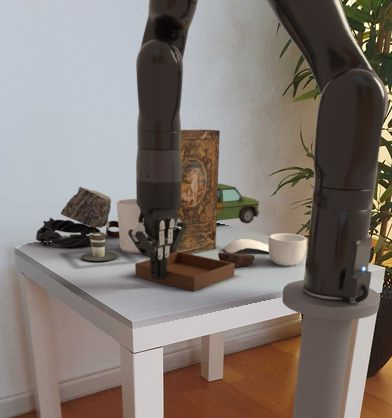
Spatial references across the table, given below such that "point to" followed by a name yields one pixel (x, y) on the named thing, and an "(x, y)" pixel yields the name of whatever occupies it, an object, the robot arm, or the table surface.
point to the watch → (111, 233)
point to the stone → (237, 259)
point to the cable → (68, 226)
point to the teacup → (286, 248)
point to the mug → (127, 223)
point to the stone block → (88, 208)
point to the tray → (189, 271)
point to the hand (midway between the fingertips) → (158, 278)
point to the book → (199, 189)
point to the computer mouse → (245, 245)
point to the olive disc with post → (98, 249)
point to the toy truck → (235, 205)
